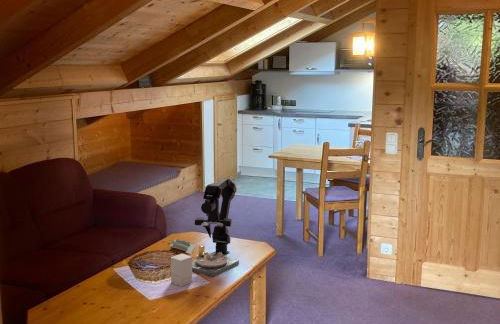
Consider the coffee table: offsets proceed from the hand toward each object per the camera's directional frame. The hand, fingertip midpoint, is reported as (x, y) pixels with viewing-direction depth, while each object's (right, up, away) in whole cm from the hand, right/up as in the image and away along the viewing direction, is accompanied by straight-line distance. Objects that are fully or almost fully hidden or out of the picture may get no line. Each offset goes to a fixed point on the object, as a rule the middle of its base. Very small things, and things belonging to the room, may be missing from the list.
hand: (213, 237), depth 277 cm
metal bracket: (-19, -10, +21) cm, 30 cm away
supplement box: (-13, -18, -25) cm, 33 cm away
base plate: (-1, -14, -4) cm, 15 cm away
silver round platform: (-1, -12, -4) cm, 13 cm away
